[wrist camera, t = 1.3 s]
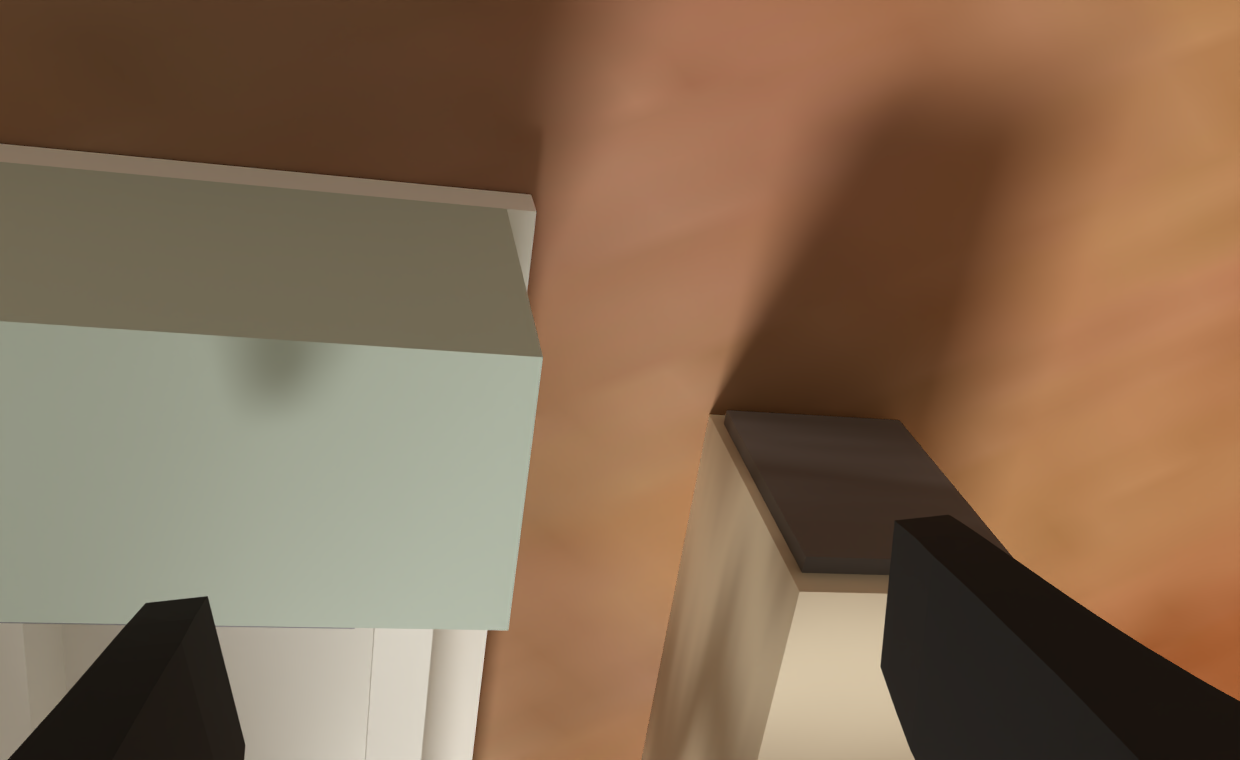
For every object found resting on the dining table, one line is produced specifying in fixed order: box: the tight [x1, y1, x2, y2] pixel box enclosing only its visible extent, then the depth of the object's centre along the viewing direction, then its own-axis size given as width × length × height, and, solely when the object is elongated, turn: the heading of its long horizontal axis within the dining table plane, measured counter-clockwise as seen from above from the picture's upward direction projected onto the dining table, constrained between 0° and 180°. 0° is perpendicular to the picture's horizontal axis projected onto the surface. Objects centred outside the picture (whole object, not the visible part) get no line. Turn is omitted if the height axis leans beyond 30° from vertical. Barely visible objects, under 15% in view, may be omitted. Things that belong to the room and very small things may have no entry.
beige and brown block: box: [642, 410, 1013, 760], centre depth 22 cm, size 10×4×6 cm, turn 171°
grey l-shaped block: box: [0, 144, 543, 760], centre depth 19 cm, size 17×10×7 cm, turn 171°
